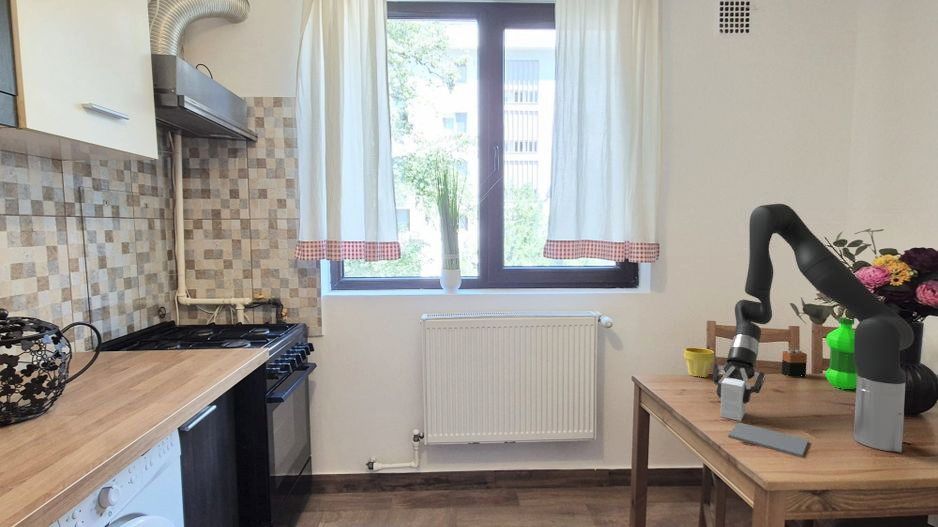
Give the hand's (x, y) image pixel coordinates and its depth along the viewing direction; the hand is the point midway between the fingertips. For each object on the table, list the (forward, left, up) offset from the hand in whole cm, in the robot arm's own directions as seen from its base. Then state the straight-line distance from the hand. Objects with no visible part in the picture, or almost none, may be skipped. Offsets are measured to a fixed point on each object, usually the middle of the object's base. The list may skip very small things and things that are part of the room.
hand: (732, 399), depth 133 cm
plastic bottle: (-22, -57, -5) cm, 61 cm away
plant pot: (+20, -37, -6) cm, 42 cm away
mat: (-11, +10, -5) cm, 16 cm away
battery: (-7, -62, -6) cm, 62 cm away
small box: (0, -2, -6) cm, 6 cm away
